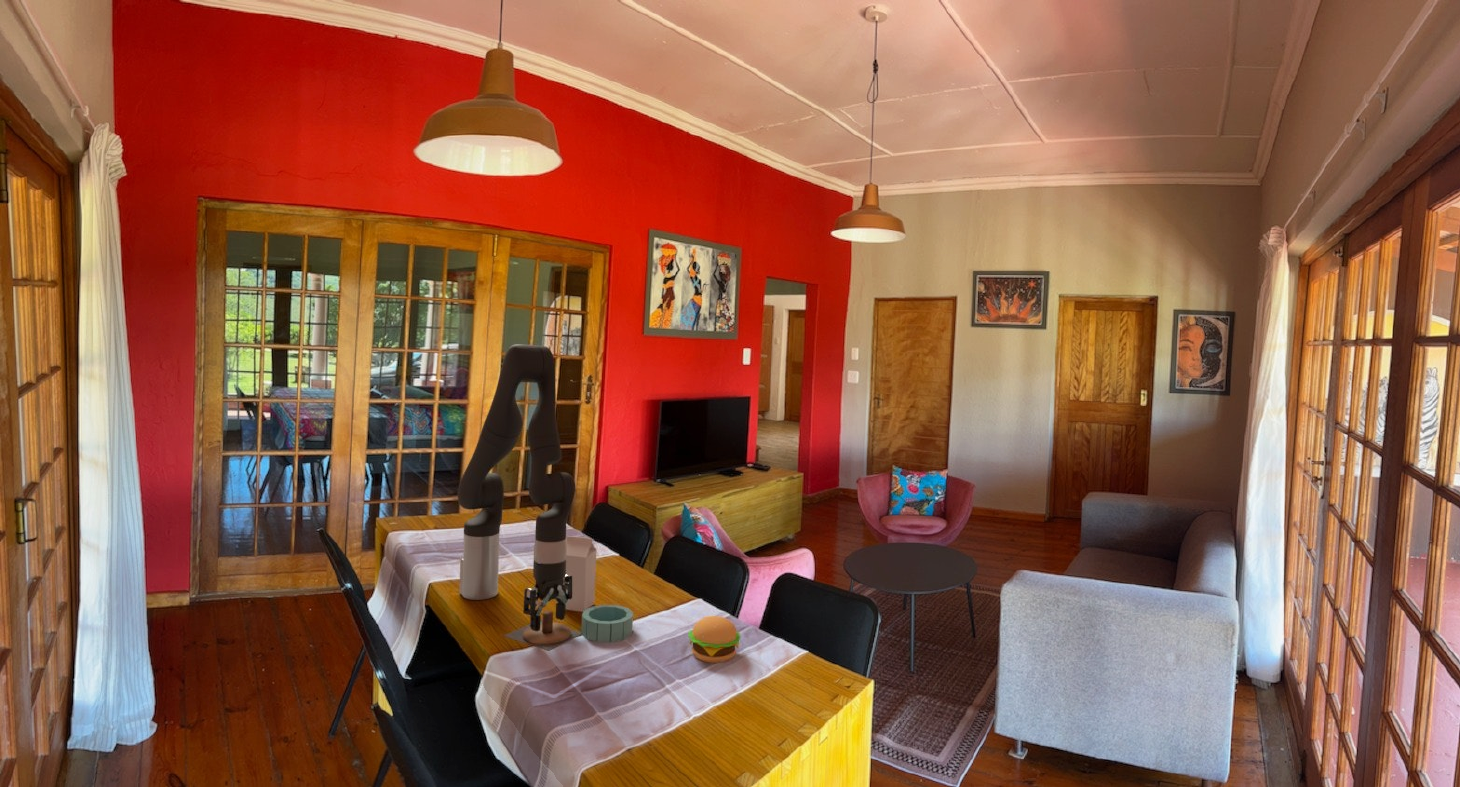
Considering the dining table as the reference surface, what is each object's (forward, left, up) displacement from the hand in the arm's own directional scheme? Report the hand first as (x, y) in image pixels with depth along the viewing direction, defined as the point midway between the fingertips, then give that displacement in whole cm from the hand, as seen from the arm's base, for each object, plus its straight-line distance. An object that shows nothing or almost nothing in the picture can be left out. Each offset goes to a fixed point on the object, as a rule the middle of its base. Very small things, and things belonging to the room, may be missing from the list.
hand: (547, 624), depth 172 cm
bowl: (+10, +10, -3) cm, 14 cm away
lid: (0, 0, -3) cm, 3 cm away
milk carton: (-7, +19, -4) cm, 21 cm away
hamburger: (+37, +15, -4) cm, 40 cm away
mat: (-1, 0, -3) cm, 3 cm away
